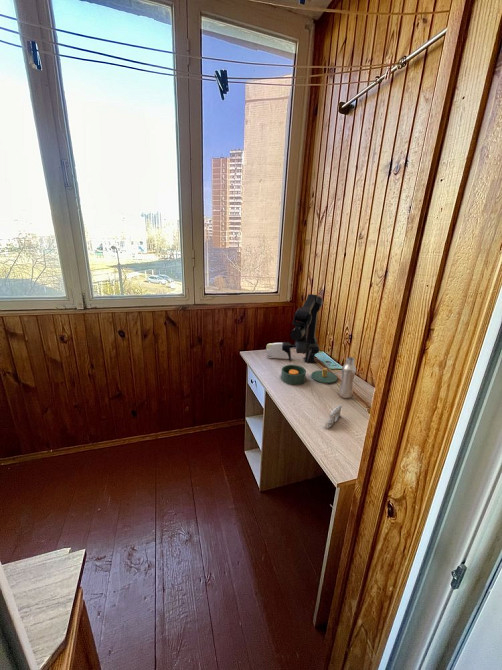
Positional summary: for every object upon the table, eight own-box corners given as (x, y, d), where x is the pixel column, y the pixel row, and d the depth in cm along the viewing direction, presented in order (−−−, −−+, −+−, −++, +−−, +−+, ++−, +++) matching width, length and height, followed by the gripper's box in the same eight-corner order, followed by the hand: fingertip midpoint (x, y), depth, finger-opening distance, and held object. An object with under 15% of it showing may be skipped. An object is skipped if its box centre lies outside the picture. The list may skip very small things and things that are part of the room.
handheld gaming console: (267, 359, 185) (291, 358, 182) (267, 361, 183) (291, 360, 179) (266, 342, 182) (290, 342, 178) (265, 344, 179) (289, 343, 176)
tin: (280, 373, 164) (281, 364, 162) (303, 374, 163) (304, 365, 161) (281, 384, 152) (282, 374, 150) (306, 385, 151) (307, 376, 149)
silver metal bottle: (352, 394, 144) (358, 356, 137) (351, 401, 138) (358, 362, 131) (338, 391, 146) (343, 354, 139) (337, 398, 140) (343, 360, 133)
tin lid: (309, 371, 166) (310, 362, 164) (334, 372, 165) (335, 363, 163) (313, 383, 153) (314, 373, 151) (339, 384, 153) (340, 375, 151)
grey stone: (328, 429, 118) (330, 417, 116) (324, 427, 119) (325, 415, 117) (340, 416, 127) (342, 404, 125) (336, 414, 128) (338, 402, 126)
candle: (288, 375, 160) (288, 369, 158) (297, 376, 159) (297, 369, 158) (288, 380, 155) (289, 373, 154) (298, 380, 155) (298, 374, 153)
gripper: (282, 339, 142) (281, 367, 148) (322, 341, 141) (318, 370, 146) (282, 331, 153) (281, 358, 158) (319, 333, 151) (316, 360, 156)
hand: (299, 362), depth 154 cm, fingers open, 9 cm apart
